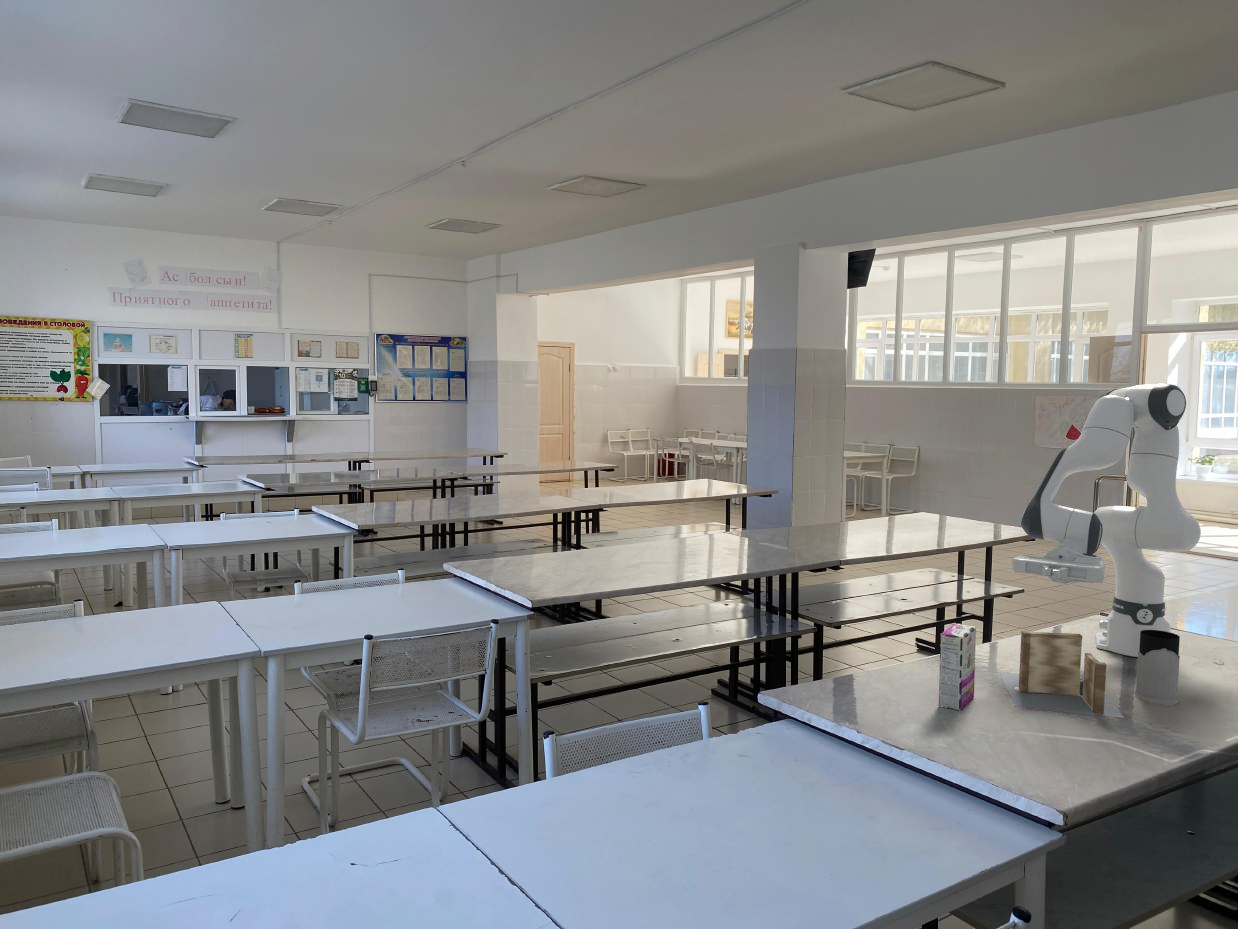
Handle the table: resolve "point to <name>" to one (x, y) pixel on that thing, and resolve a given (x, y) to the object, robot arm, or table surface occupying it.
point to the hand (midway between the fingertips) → (1051, 573)
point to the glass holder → (1158, 667)
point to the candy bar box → (957, 666)
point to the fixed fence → (1094, 683)
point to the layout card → (1054, 699)
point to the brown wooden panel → (1050, 662)
